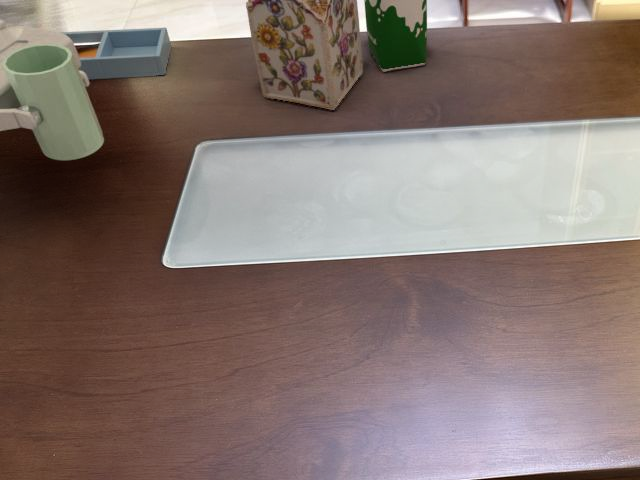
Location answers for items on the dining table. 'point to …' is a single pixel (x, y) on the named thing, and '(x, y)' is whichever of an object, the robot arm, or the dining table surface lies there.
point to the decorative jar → (306, 49)
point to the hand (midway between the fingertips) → (61, 99)
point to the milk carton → (397, 31)
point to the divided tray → (123, 52)
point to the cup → (55, 100)
